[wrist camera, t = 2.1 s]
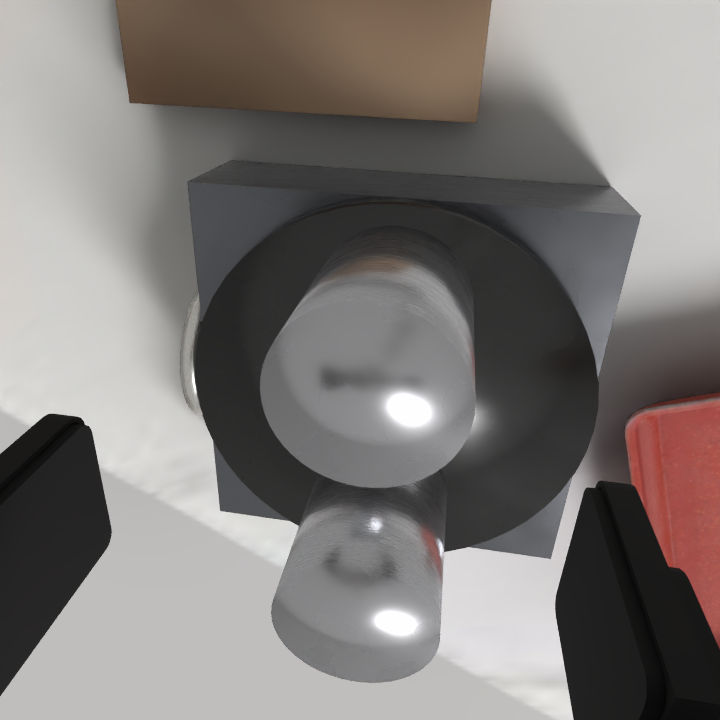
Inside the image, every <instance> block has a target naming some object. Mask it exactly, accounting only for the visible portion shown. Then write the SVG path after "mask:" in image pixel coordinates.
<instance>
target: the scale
mask: <svg viewBox="0 0 720 720" xmlns="http://www.w3.org/2000/svg"><path fill="white" fill-rule="evenodd" d="M188 191H189V201H190V211H191V221H192V231H193V242H194V252H195V262H196V272H197V282H198V290H197V292H196V294H195V296H194V298H193V300H192V302H191V304H190V307H189V310H188V313H187V317H186V320H185V325H184V330H183V335H182V342H181V355H180V372H181V382H182V388H183V393H184V396H185V399H186V402H187V404H188V406H189V408H190V409H191V410H192V411H193V412H194V413H195V414H198V415H203V417H204V420H205V423H206V426H207V428H208V430H209V433H210V435H211V437H212V439H213V443H214V453H215V463H216V473H217V483H218V493H219V503H220V511H225V512H232V513H239V514H246V515H253V516H259V517H266V518H273V519H280V520H287V521H291V522H293V523H295V524H297V525H300V522H301V519H302V517H303V514H304V511H305V508H306V505H307V502H308V500H309V497H310V494H311V491H312V488H313V485H314V483H315V480H316V477H317V474H318V473H317V472H315V471H313V470H312V469H310V468H309V467H307V466H306V465H304V464H303V463H301V462H300V461H299V460H298V459H296V458H295V457H294V456H293V455H292V454H291V453H290V452H289V451H288V450H287V449H286V448H285V447H284V446H283V445H282V443H281V442H280V441H279V439H278V438H277V437H276V435H275V434H274V432H273V430H272V429H271V427H270V425H269V423H268V420H267V418H266V416H265V413H264V409H263V406H262V402H261V394H260V377H261V372H262V366H263V363H264V361H265V358H266V355H267V353H268V351H269V349H270V347H271V345H272V344H273V342H274V341H275V339H276V338H277V336H278V334H279V333H280V331H281V330H282V328H283V327H284V325H285V324H286V322H287V321H288V319H289V318H290V316H291V315H292V313H293V312H294V310H295V308H296V307H297V305H298V304H299V302H300V301H301V299H302V298H303V296H304V295H305V293H306V292H307V290H308V289H309V287H310V285H311V284H312V282H313V281H314V279H315V278H316V276H317V275H318V273H319V272H320V270H321V269H322V267H323V266H324V264H325V263H326V261H327V259H328V258H329V257H330V255H331V254H332V253H333V251H334V250H335V249H336V248H337V247H338V246H339V245H340V244H342V243H343V242H344V241H346V240H347V239H348V238H350V237H352V236H354V235H355V234H357V233H359V232H362V231H364V230H367V229H371V228H375V227H381V226H404V227H410V228H414V229H417V230H421V231H423V232H425V233H428V234H430V235H432V236H433V237H435V238H437V239H439V240H440V241H441V242H443V243H444V244H445V245H446V246H448V247H449V248H450V249H451V250H452V251H453V252H454V253H455V254H456V256H457V257H458V258H459V260H460V261H461V262H462V264H463V266H464V268H465V269H466V271H467V273H468V276H469V279H470V281H471V286H472V290H473V301H474V352H475V416H474V420H473V424H472V428H471V431H470V433H469V435H468V438H467V440H466V441H465V443H464V445H463V446H462V448H461V449H460V451H459V452H458V453H457V454H456V456H455V457H454V458H453V459H452V460H451V461H450V462H449V463H447V464H446V465H445V466H444V467H443V468H441V469H440V470H438V471H439V472H440V474H441V476H442V478H443V480H444V483H445V486H446V492H447V502H446V522H445V543H444V552H446V551H451V550H456V549H461V548H466V547H473V548H480V549H487V550H493V551H500V552H507V553H514V554H521V555H528V556H535V557H542V558H549V559H551V555H552V552H553V548H554V544H555V540H556V536H557V533H558V529H559V525H560V521H561V517H562V514H563V510H564V506H565V502H566V498H567V495H568V491H569V487H570V483H571V479H572V476H573V475H574V473H575V472H576V470H577V468H578V466H579V465H580V463H581V461H582V459H583V457H584V455H585V454H586V451H587V448H588V446H589V443H590V440H591V437H592V434H593V432H594V427H595V422H596V416H597V411H598V391H599V382H598V377H599V373H600V369H601V365H602V361H603V358H604V354H605V350H606V346H607V342H608V339H609V335H610V331H611V327H612V323H613V320H614V316H615V312H616V308H617V304H618V301H619V297H620V293H621V289H622V285H623V282H624V278H625V274H626V270H627V266H628V263H629V259H630V255H631V251H632V247H633V244H634V240H635V236H636V232H637V228H638V225H639V221H640V217H641V215H640V214H639V213H638V212H637V211H636V210H635V209H634V208H633V207H632V206H631V205H630V204H629V203H628V202H627V201H626V200H625V199H624V198H623V197H622V196H621V195H620V194H619V193H618V192H617V191H616V190H615V189H614V188H613V187H606V186H591V185H577V184H563V183H548V182H534V181H519V180H505V179H490V178H476V177H461V176H447V175H432V174H418V173H403V172H389V171H375V170H360V169H346V168H331V167H317V166H302V165H288V164H273V163H259V162H244V161H229V162H227V163H225V164H223V165H221V166H219V167H217V168H215V169H213V170H211V171H209V172H207V173H205V174H203V175H200V176H198V177H196V178H194V179H192V180H190V181H188Z"/></svg>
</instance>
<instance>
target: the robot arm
mask: <svg viewBox="0 0 720 720" xmlns="http://www.w3.org/2000/svg"><path fill="white" fill-rule="evenodd" d="M111 533H112V532H111V525H110V520H109V515H108V510H107V505H106V500H105V495H104V490H103V485H102V480H101V475H100V470H99V465H98V460H97V455H96V450H95V445H94V440H93V435H92V431H91V429H90V427H89V426H86V425H85V424H84V421H83V420H82V419H81V418H79V417H75V416H67V415H59V414H48V415H46V416H44V417H43V418H42V419H41V420H39V421H38V422H37V423H36V424H35V425H34V426H32V427H31V428H30V429H29V430H28V431H27V432H25V433H24V434H23V435H22V436H21V437H20V438H19V439H17V440H16V441H15V442H14V443H13V444H12V445H10V446H9V447H8V448H7V449H6V450H5V451H3V452H2V453H1V454H0V696H1V694H2V693H3V692H4V690H5V689H6V687H7V686H8V685H9V683H10V682H11V680H12V679H13V678H14V676H15V675H16V673H17V672H18V671H19V669H20V668H21V667H22V665H23V664H24V662H25V661H26V660H27V658H28V657H29V656H30V654H31V653H32V651H33V650H34V649H35V647H36V646H37V644H38V643H39V642H40V640H41V639H42V637H43V636H44V635H45V633H46V632H47V630H48V629H49V628H50V626H51V625H52V624H53V622H54V621H55V619H56V618H57V616H58V615H59V614H60V613H61V611H62V610H63V608H64V607H65V606H66V604H67V603H68V601H69V600H70V599H71V597H72V596H73V595H74V593H75V592H76V590H77V589H78V588H79V586H80V585H81V583H82V582H83V581H84V579H85V578H86V577H87V575H88V574H89V572H90V571H91V570H92V568H93V567H94V565H95V564H96V563H97V561H98V560H99V558H100V557H101V556H102V554H103V553H104V551H105V550H106V549H107V547H108V545H109V542H110V539H111ZM555 610H556V619H557V625H558V630H559V636H560V642H561V648H562V654H563V660H564V665H565V671H566V677H567V683H568V689H569V695H570V700H571V706H572V712H573V718H574V720H720V649H719V646H718V644H717V642H716V640H715V637H714V635H713V633H712V631H711V628H710V626H709V624H708V621H707V619H706V617H705V615H704V612H703V610H702V608H701V605H700V603H699V601H698V599H697V596H696V594H695V592H694V590H693V587H692V585H691V583H690V580H689V579H688V577H687V575H686V574H685V572H684V571H682V570H681V569H680V568H674V567H668V564H667V562H666V559H665V557H664V554H663V552H662V550H661V547H660V545H659V542H658V540H657V537H656V535H655V532H654V530H653V528H652V525H651V523H650V520H649V518H648V515H647V513H646V510H645V508H644V506H643V503H642V501H641V498H640V496H639V493H638V491H637V489H636V487H635V486H634V485H631V484H623V483H615V482H607V481H599V482H598V483H597V485H596V487H595V488H586V489H585V491H584V494H583V498H582V502H581V505H580V509H579V513H578V516H577V520H576V524H575V527H574V531H573V535H572V539H571V542H570V546H569V550H568V553H567V557H566V561H565V564H564V568H563V572H562V576H561V579H560V583H559V587H558V590H557V595H556V603H555Z"/></svg>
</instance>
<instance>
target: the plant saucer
mask: <svg viewBox="0 0 720 720" xmlns="http://www.w3.org/2000/svg"><path fill="white" fill-rule="evenodd" d="M624 433H625V443H626V449H627V457H628V464H629V471H630V481H631V485H634V486H635V487H636V489H637V491H638V493H639V496H640V498H641V501H642V503H643V506H644V508H645V510H646V513H647V515H648V518H649V520H650V523H651V525H652V528H653V530H654V532H655V535H656V537H657V540H658V542H659V545H660V547H661V550H662V552H663V554H664V557H665V559H666V562H667V564H668V567H674V568H680V569H681V570H682V571H684V572H685V574H686V575H687V577H688V579H689V580H690V583H691V585H692V587H693V590H694V592H695V594H696V596H697V599H698V601H699V603H700V605H701V608H702V610H703V612H704V615H705V617H706V619H707V621H708V624H709V626H710V628H711V631H712V633H713V635H714V637H715V640H716V642H717V644H718V646H719V649H720V392H718V393H711V394H704V395H698V396H693V397H687V398H682V399H676V400H670V401H665V402H660V403H656V404H652V405H649V406H646V407H643V408H641V409H640V410H638V411H636V412H635V413H633V414H632V415H630V416H629V418H628V420H627V421H626V424H625V427H624Z"/></svg>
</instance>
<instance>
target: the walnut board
mask: <svg viewBox="0 0 720 720" xmlns="http://www.w3.org/2000/svg"><path fill="white" fill-rule="evenodd" d="M491 1H492V0H116V6H117V13H118V21H119V28H120V35H121V43H122V50H123V57H124V65H125V72H126V79H127V87H128V94H129V101H130V103H142V104H159V105H176V106H194V107H211V108H228V109H245V110H263V111H280V112H297V113H314V114H332V115H349V116H366V117H383V118H401V119H418V120H435V121H452V122H470V123H477V116H478V108H479V99H480V91H481V83H482V75H483V66H484V58H485V50H486V42H487V34H488V25H489V17H490V9H491Z"/></svg>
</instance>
